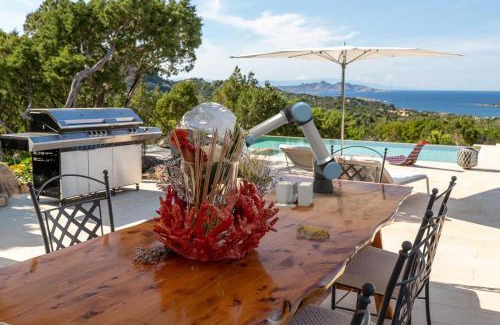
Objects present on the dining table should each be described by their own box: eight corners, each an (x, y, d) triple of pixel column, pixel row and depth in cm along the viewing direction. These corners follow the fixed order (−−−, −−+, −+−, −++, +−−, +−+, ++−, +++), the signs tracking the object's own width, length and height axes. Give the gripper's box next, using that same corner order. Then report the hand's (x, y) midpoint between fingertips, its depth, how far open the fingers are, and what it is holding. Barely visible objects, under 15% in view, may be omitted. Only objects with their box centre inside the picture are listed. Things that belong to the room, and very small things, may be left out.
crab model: (334, 236, 210) (335, 224, 209) (324, 243, 198) (325, 231, 198) (302, 231, 217) (303, 220, 216) (291, 238, 206) (291, 226, 205)
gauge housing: (275, 206, 268) (275, 186, 266) (283, 200, 285) (283, 180, 284) (305, 208, 262) (306, 187, 260) (312, 202, 279) (312, 182, 278)
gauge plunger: (286, 206, 267) (286, 186, 265) (294, 200, 283) (294, 181, 282) (303, 207, 263) (304, 187, 262) (310, 201, 280) (310, 182, 278)
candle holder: (292, 204, 274) (292, 184, 273) (275, 204, 275) (275, 184, 273) (291, 200, 284) (291, 181, 282) (275, 200, 284) (275, 181, 283)
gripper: (243, 167, 292) (268, 194, 289) (235, 170, 280) (262, 199, 276) (251, 159, 289) (276, 187, 286) (244, 161, 277) (270, 190, 274)
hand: (269, 192), depth 281 cm, fingers closed
